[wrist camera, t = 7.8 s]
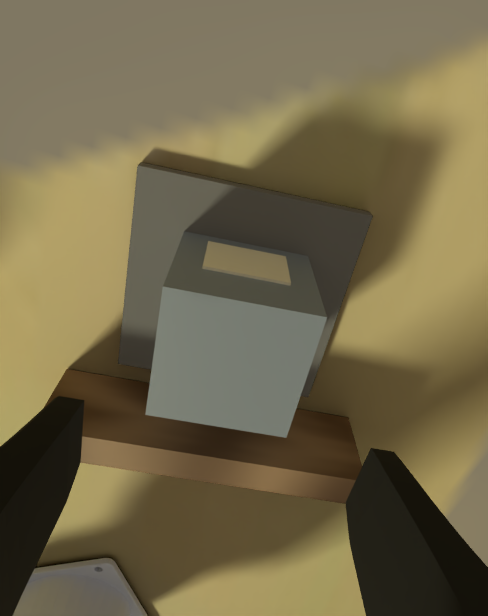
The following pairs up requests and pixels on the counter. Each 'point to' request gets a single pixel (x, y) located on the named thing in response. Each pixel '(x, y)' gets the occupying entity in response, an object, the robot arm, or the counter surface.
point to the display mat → (235, 227)
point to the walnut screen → (211, 443)
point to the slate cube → (234, 336)
